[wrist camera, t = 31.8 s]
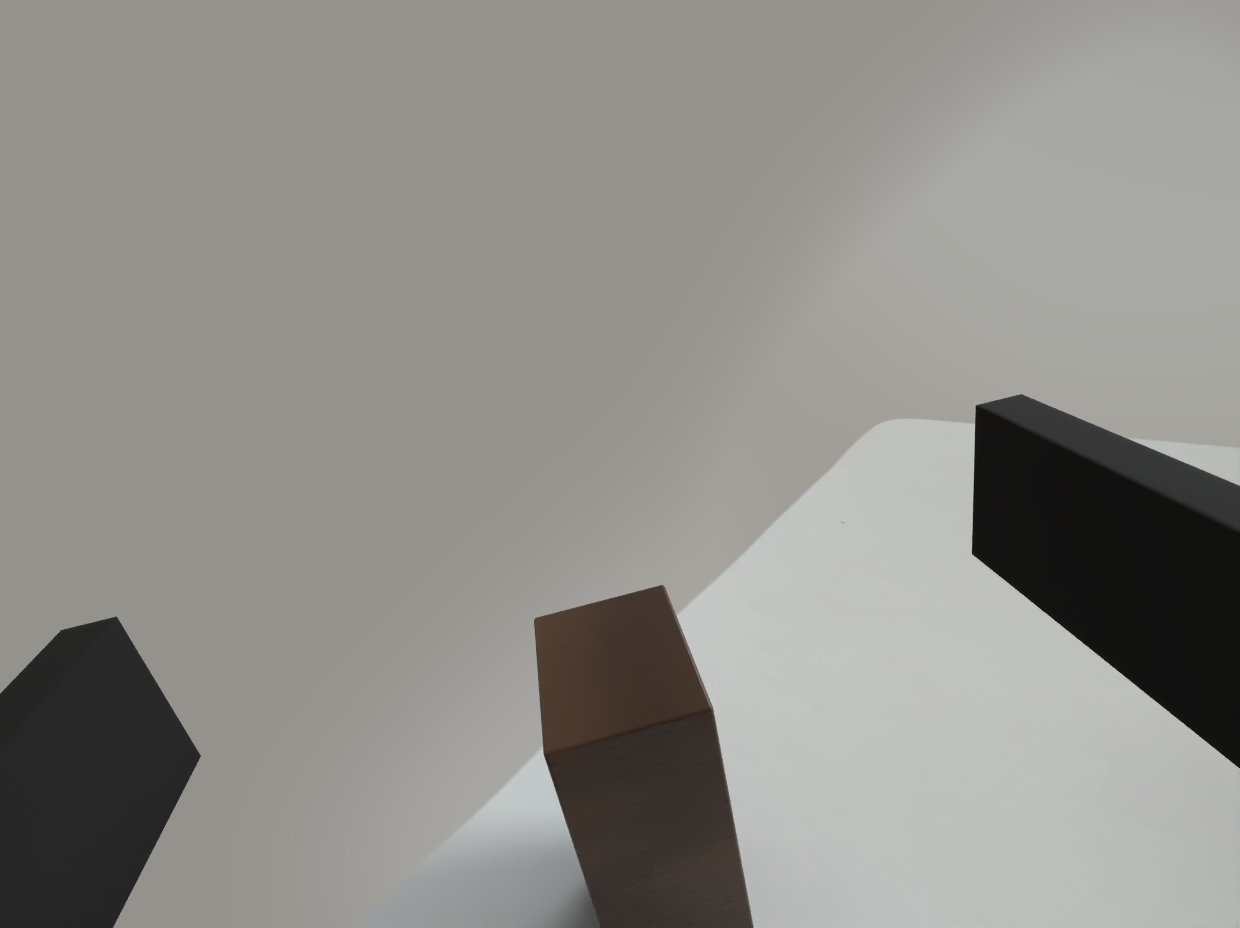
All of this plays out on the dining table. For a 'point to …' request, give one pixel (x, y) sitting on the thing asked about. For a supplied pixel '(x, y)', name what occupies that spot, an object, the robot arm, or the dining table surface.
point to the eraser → (639, 765)
